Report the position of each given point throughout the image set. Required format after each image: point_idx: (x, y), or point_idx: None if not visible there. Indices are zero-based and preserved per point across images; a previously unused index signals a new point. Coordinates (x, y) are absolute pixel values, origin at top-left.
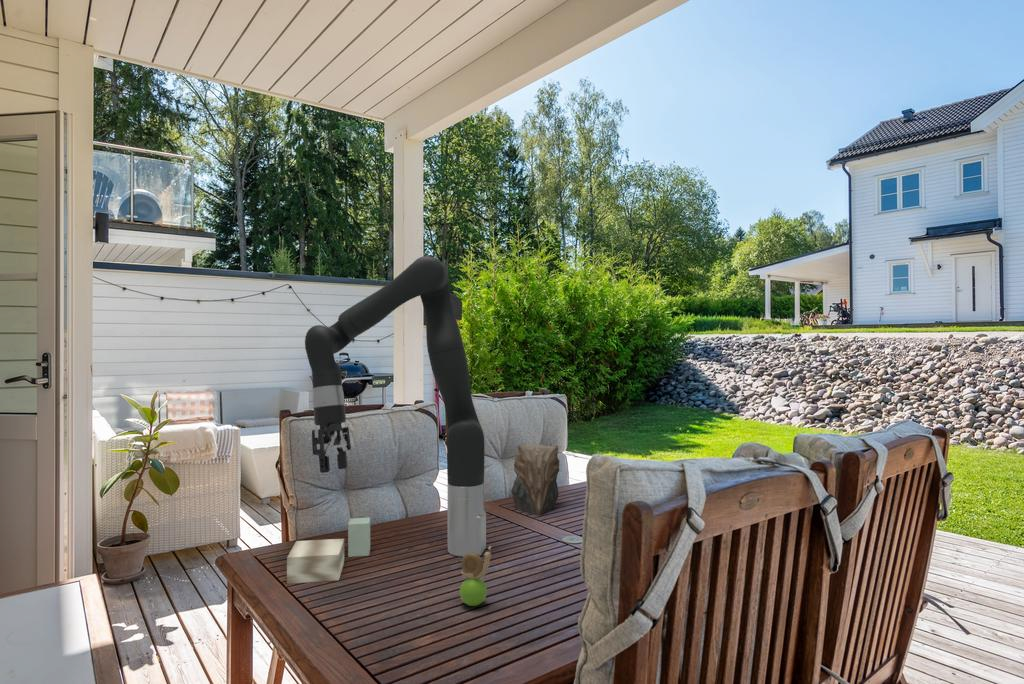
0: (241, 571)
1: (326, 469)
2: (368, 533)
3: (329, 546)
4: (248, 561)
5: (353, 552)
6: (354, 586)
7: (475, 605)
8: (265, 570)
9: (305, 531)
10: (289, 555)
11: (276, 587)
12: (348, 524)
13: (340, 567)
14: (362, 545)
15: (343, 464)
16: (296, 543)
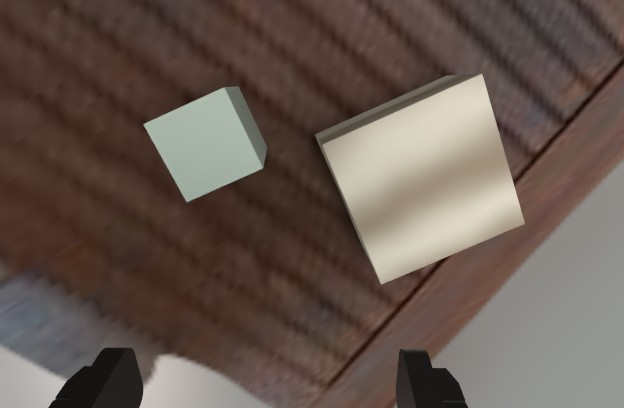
0: (428, 349)
1: (435, 369)
2: (230, 88)
3: (410, 150)
4: (365, 376)
5: (259, 134)
6: (481, 3)
7: None
8: (413, 303)
9: None
10: (508, 226)
11: None
12: (262, 166)
13: (414, 93)
14: (244, 108)
15: (118, 385)
16: (403, 270)
